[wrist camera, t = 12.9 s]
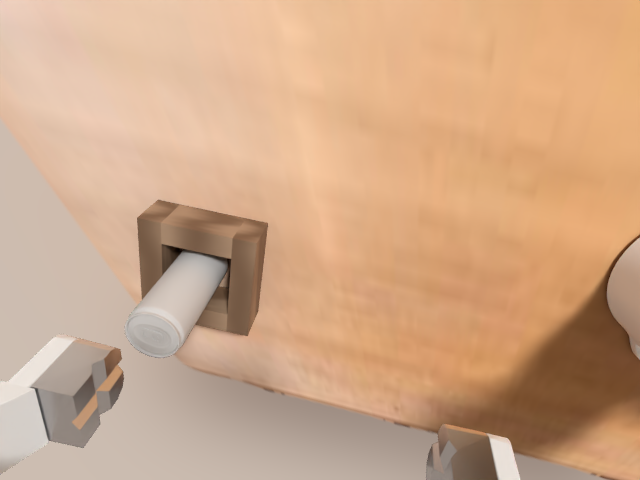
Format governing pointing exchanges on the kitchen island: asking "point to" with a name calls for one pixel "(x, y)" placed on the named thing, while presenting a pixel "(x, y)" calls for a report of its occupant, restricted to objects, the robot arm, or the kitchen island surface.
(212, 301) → the walnut holder
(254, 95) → the kitchen island surface
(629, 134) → the kitchen island surface
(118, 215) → the kitchen island surface
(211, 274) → the beverage can
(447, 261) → the kitchen island surface
